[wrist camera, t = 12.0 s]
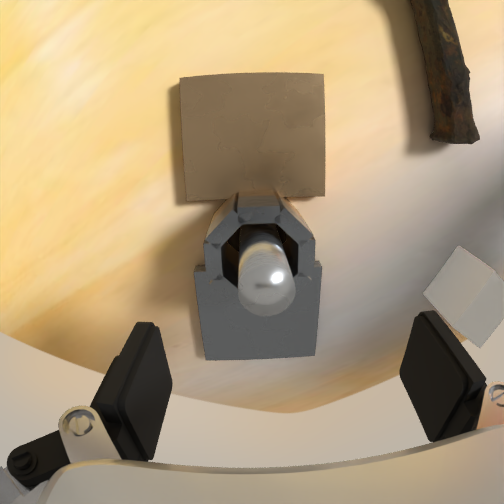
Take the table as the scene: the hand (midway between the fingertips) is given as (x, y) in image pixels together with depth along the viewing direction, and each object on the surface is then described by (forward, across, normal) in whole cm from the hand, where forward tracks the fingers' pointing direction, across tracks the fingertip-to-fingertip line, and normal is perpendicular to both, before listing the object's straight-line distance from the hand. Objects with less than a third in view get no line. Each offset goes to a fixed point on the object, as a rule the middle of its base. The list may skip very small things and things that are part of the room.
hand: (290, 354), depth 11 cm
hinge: (+15, +1, 0) cm, 15 cm away
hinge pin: (+15, +1, 0) cm, 15 cm away
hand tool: (+16, -13, -16) cm, 26 cm away
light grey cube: (+16, -19, +6) cm, 25 cm away
